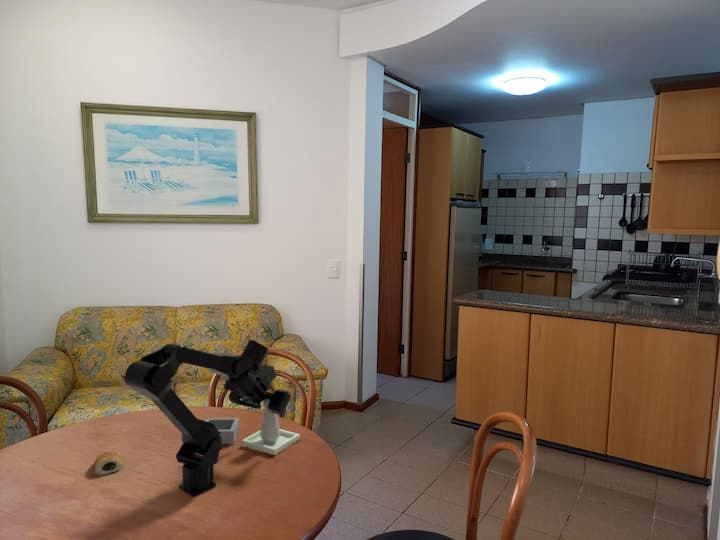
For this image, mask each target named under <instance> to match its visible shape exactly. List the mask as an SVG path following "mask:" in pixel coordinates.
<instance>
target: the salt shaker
mask: <svg viewBox="0 0 720 540" xmlns="http://www.w3.org/2000/svg"><path fill="white" fill-rule="evenodd" d="M268 404H269V401H265V400H263V401H262V406H263V407H264V411H263V417H262V421H261V428H260V430H261V432H260V436H261V438H262V440H263V442H264V443H265V444H273V443H276V441H277V440H278V438H279V436H280V429H281V428H280V423H279V417H278V414H274V413H271V411H269V410H268Z"/></svg>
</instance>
